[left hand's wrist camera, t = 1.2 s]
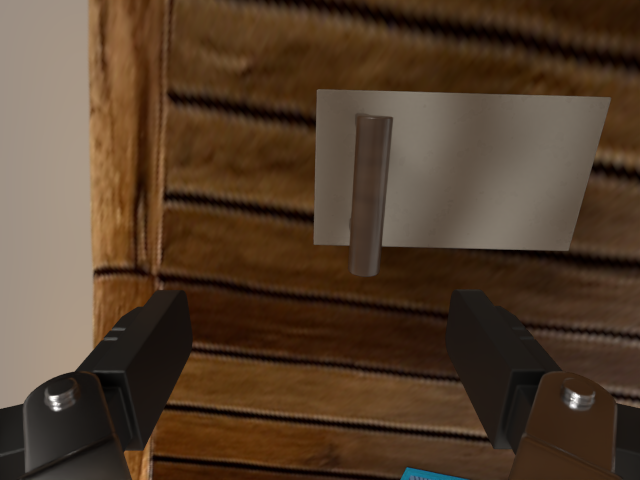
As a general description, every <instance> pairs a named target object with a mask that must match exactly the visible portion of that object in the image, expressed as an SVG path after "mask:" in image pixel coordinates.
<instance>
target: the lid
mask: <svg viewBox="0 0 640 480" xmlns="http://www.w3.org/2000/svg"><path fill="white" fill-rule="evenodd" d="M610 100H611V98H610V97H580V96H544V95H507V94H471V93H434V92H398V91H361V90H325V89H318V90H317V112H316V160H315V207H314V245H349V262H348V270H349V271H350V272H351V273H352V274H354V275H357V276H362V277H370V276H375V275H377V274H378V273H379V271H380V261H381V249H382V246H390V247H430V248H471V249H511V250H552V251H568V250H569V246H570V243H571V239H572V236H573V232H574V228H575V225H576V221H577V218H578V214H579V211H580V207H581V204H582V200H583V196H584V193H585V189H586V186H587V182H588V179H589V175H590V172H591V168H592V164H593V161H594V157H595V154H596V150H597V147H598V143H599V140H600V136H601V132H602V129H603V125H604V122H605V118H606V115H607V111H608V108H609V104H610Z"/></svg>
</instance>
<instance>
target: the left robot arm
mask: <svg viewBox="0 0 640 480" xmlns="http://www.w3.org/2000/svg"><path fill="white" fill-rule="evenodd" d="M192 339H193V337H192V328H191V322H190V315H189V308H188V302H187V296H186V293H185V292H184V291H183V290H157V291H156V292H155V293H154V294H153V295H152V297H151V298H150V299H149V300H148V301H147V303H146V304H145V305H144V306H143V307H137V308H135V309H134V310H132V311H130V312H129V313H127V314H126V315H124V316H122V317H121V319H120V320H119V321H118V322H117V323H116V324H115V326H114V327H113V328H112V331H109V332H108V334H107V335H106V336H105V337H104V340H102V341H101V342H100V343H99V344H98V345H97V346H96V347H95V349H94V350H93V351H92V352H91V353H90V355H89V356H88V357H87V358H86V359H85V360H84V361H83V363H82V364H81V365H80V366H79V367H78V368H77V369H76V371H75V372H70V373H66V374H63V375H59V376H57V377H54V378H52V379H50V380H48V381H46V382H45V383H43V384H42V385H40V386H39V387H37V388H36V389H35V390H34V391H33V392H31V393H30V395H29V396H28V397H27V399H26V400H25V402H24V404H20V405H16V406H12V407H7V408H3V409H0V480H132V478H131V475H130V472H129V469H128V466H127V462H126V459H125V456H124V451H125V450H144V448H145V446H146V444H147V442H148V440H149V438H150V436H151V434H152V431H153V429H154V427H155V425H156V423H157V421H158V419H159V417H160V415H161V413H162V411H163V409H164V407H165V405H166V403H167V401H168V399H169V397H170V395H171V393H172V390H173V388H174V386H175V384H176V382H177V380H178V378H179V376H180V374H181V372H182V370H183V368H184V366H185V364H186V362H187V360H188V358H189V355H190V353H191V349H192ZM446 348H447V352H448V355H449V357H450V359H451V361H452V363H453V365H454V367H455V369H456V371H457V373H458V376H459V378H460V380H461V382H462V384H463V386H464V388H465V390H466V392H467V394H468V396H469V398H470V400H471V403H472V405H473V407H474V409H475V411H476V413H477V415H478V417H479V419H480V421H481V423H482V425H483V427H484V429H485V432H486V434H487V436H488V438H489V440H490V442H491V444H492V446H493V448H494V449H512V450H513V452H514V453H515V455H516V456H515V459H514V462H513V466H512V469H511V472H510V475H509V478H508V480H640V408H636V407H631V406H627V405H622V404H618V403H616V402H615V400H614V398H613V397H612V396H611V395H610V393H609V392H608V391H606V390H605V389H604V388H603V387H601V386H600V385H599V384H597V383H595V382H594V381H592V380H590V379H588V378H586V377H583V376H581V375H577V374H574V373H570V372H564V371H562V370H561V369H560V367H559V366H558V365H557V364H556V363H555V362H554V360H553V359H552V358H551V357H550V356H549V355H548V353H547V352H546V351H545V350H544V349H543V348H542V346H541V345H540V344H539V343H538V342H537V341H536V340H534V338H533V336H532V335H531V334H530V332H529V331H528V330H525V327H524V325H523V324H522V323H521V322H520V321H519V320H518V318H517V317H516V316H515V315H513V314H512V313H510V312H508V311H507V310H505V309H504V308H502V307H501V306H494V305H493V304H492V302H491V301H490V300H489V299H488V297H487V296H486V295H485V294H484V292H483V291H482V290H454V291H453V293H452V295H451V301H450V308H449V315H448V321H447V328H446Z"/></svg>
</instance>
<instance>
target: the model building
mask: <svg viewBox="0 0 640 480" xmlns="http://www.w3.org/2000/svg"><path fill="white" fill-rule="evenodd" d="M401 480H468V479H463V478H458V477H453V476H448V475H443V474H438V473H433V472H428V471H423V470H418V469H413V468H408V467H407V468H406V470H405V472H404V474H403V476H402V478H401Z"/></svg>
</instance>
